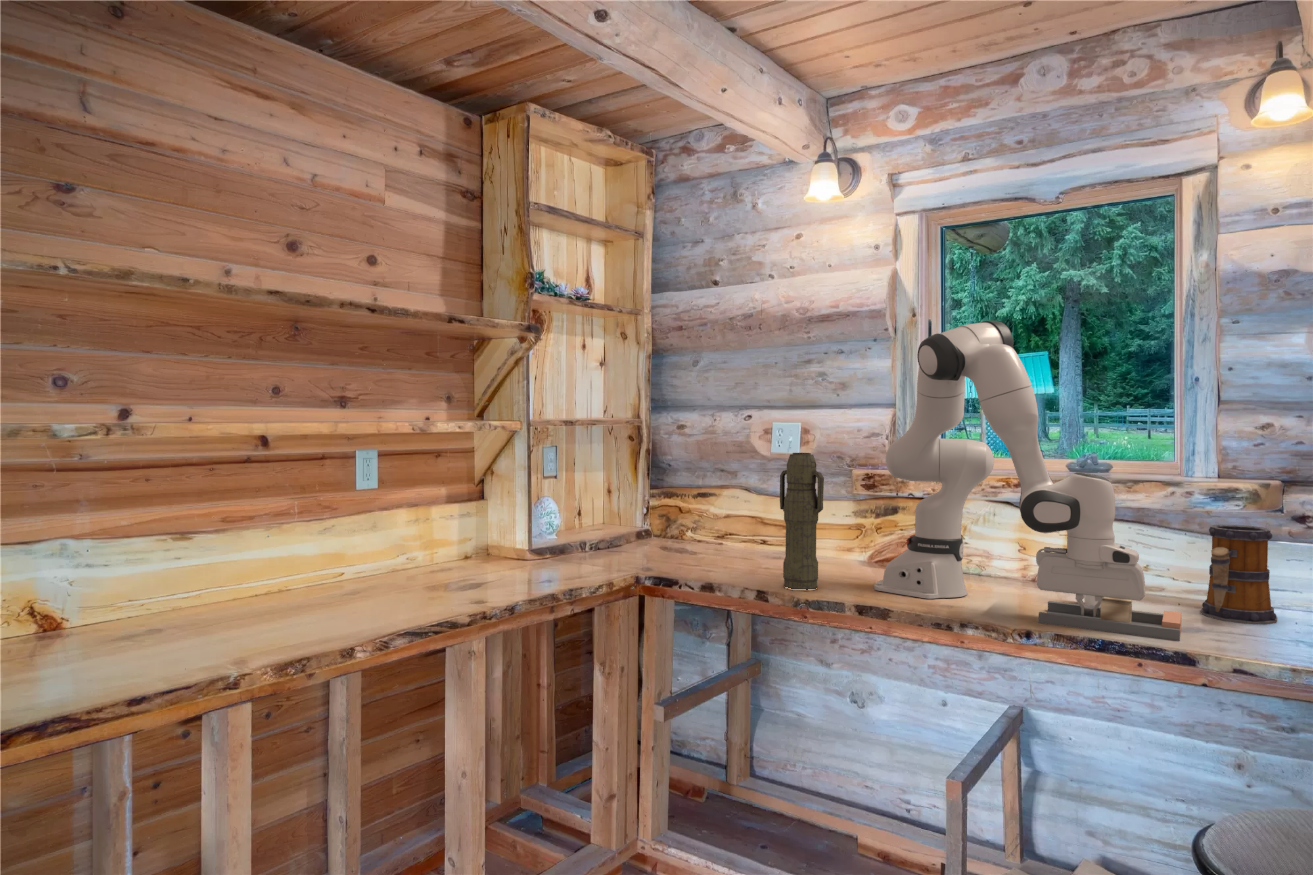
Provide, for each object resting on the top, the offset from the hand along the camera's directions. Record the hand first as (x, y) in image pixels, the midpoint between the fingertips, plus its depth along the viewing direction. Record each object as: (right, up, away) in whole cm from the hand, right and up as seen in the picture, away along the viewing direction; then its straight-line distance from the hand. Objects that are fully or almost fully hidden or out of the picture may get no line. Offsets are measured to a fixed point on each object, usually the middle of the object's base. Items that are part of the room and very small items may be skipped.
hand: (1089, 616), depth 175 cm
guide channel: (+3, -3, -2) cm, 5 cm away
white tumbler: (+10, -3, +16) cm, 20 cm away
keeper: (+4, -1, -3) cm, 5 cm away
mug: (+38, -3, +10) cm, 39 cm away
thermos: (-53, -2, +41) cm, 68 cm away
